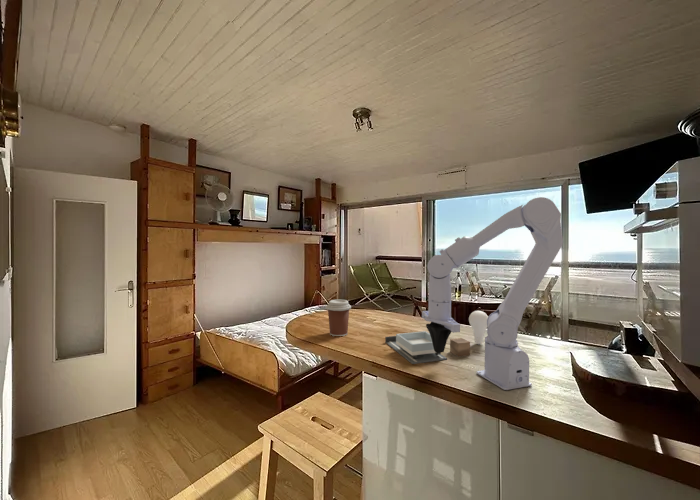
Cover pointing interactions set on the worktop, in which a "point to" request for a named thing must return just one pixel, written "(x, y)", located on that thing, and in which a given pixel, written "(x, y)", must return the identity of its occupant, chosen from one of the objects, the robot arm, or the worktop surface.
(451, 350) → the block
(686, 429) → the worktop surface
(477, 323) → the lightbulb
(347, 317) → the coffee cup
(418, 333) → the white shallow tray
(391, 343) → the track
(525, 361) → the robot arm
